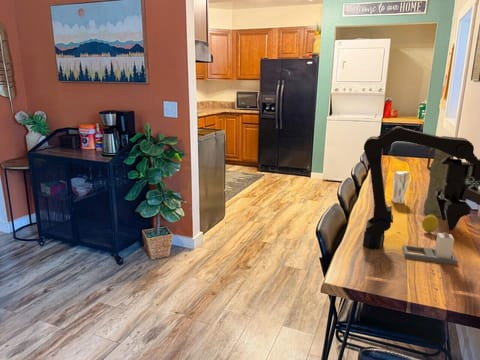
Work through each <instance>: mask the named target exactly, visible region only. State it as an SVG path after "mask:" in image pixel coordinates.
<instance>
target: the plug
mask: <svg viewBox="0 0 480 360" xmlns="http://www.w3.org/2000/svg"><path fill="white" fill-rule="evenodd" d="M454 243H455V238H454V237H453V235H452V234H450V233H448V232H445V231H443V232H437V236H436V241H435V246H434V249H435V251H434V256H435V257H441V258H448V259H451V254H452V252H453V248H454Z"/></svg>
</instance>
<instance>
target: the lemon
mask: <svg viewBox="0 0 480 360" xmlns="http://www.w3.org/2000/svg"><path fill="white" fill-rule="evenodd" d="M421 226H422V229H423V230H424V231H425V232H426V233H427V234H431V233H434V232H436V231H437V229H438V228H439V219H438V217H435V216H434V215H433V214H431V215H425V216H424V217H423V220H422V222H421Z"/></svg>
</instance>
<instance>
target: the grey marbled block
mask: <svg viewBox="0 0 480 360" xmlns="http://www.w3.org/2000/svg"><path fill="white" fill-rule="evenodd" d="M392 179H393V180H392V197H391V202H392V203H395V204H398V205H399V204H400V205H402V204H405V195H406V192H407V189H408V187H409V181H410V172H407V171H401V170H396V171H394V173H393V178H392Z"/></svg>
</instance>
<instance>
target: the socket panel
mask: <svg viewBox="0 0 480 360" xmlns="http://www.w3.org/2000/svg"><path fill="white" fill-rule="evenodd" d="M401 249H402V252H403V253H402V254H403V256H404V258H407V259H413V260H419V261H426V262H434V263H441V264H446V265H455V266H457V265H458V262H459V260H458V259H457V257H456V255H455V254H454V252H453V251H452V254H451V259H448V258H441V257H435V256H434V251H435V248H432V247H431V248H430V247H421V246H415V245H407V244H402V247H401Z"/></svg>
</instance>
